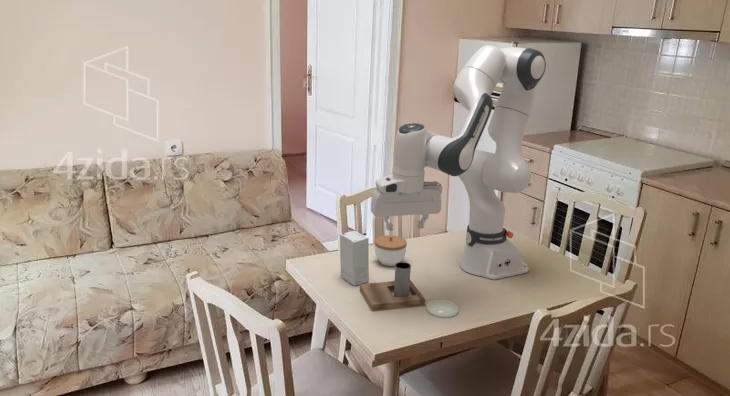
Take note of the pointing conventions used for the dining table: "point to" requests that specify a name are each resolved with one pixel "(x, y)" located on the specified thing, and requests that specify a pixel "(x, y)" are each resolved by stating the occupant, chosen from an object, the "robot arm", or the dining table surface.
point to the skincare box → (354, 257)
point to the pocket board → (389, 296)
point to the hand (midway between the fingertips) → (404, 228)
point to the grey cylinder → (402, 279)
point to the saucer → (442, 308)
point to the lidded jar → (390, 249)
